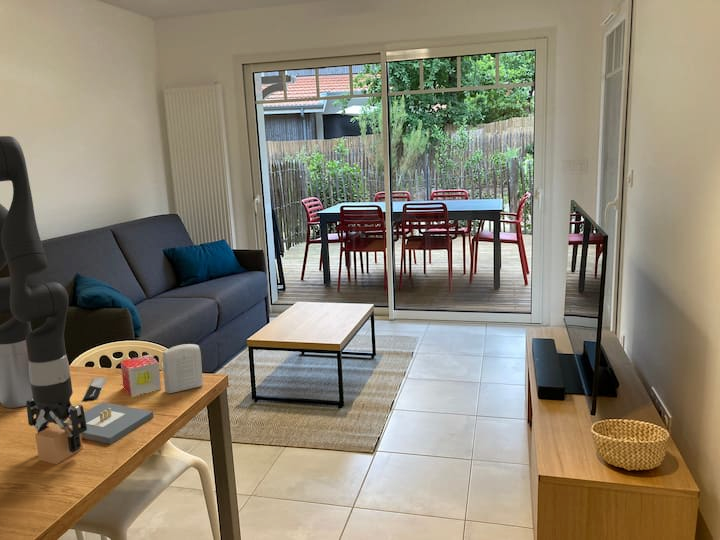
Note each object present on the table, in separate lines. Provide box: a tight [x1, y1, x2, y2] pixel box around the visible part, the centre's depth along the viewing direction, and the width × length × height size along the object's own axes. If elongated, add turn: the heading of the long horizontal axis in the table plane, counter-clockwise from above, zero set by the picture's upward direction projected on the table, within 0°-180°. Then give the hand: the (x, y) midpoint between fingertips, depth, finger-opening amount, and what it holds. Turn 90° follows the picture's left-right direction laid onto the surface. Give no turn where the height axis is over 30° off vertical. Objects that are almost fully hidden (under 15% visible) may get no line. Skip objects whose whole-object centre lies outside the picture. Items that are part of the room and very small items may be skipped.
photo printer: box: [162, 343, 204, 394], centre depth 160 cm, size 10×4×12 cm, turn 123°
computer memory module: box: [80, 377, 107, 403], centre depth 161 cm, size 15×1×4 cm
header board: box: [68, 401, 154, 445], centre depth 140 cm, size 16×14×4 cm
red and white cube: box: [120, 354, 162, 398], centre depth 160 cm, size 8×8×8 cm
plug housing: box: [35, 420, 84, 465], centre depth 127 cm, size 5×7×6 cm
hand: (60, 447), depth 127 cm, fingers open, 8 cm apart
